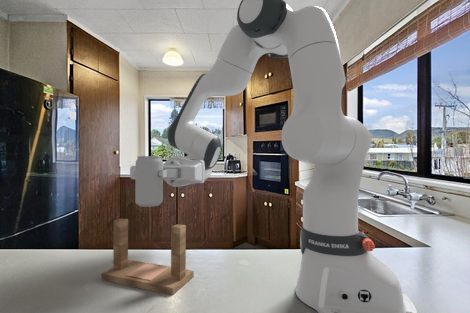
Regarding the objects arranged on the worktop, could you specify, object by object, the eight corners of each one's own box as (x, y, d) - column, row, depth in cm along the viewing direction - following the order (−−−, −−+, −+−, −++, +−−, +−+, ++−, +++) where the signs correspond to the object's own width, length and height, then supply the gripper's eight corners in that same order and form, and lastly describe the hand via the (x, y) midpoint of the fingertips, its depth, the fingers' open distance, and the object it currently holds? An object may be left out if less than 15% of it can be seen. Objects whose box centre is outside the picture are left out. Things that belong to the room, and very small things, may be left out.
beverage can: (154, 207, 58) (155, 155, 59) (129, 206, 60) (130, 155, 60) (167, 203, 65) (167, 156, 65) (144, 202, 66) (144, 156, 66)
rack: (193, 276, 63) (193, 222, 63) (172, 295, 54) (173, 231, 54) (128, 265, 70) (129, 215, 70) (101, 279, 61) (101, 223, 61)
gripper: (149, 160, 78) (113, 161, 65) (209, 160, 71) (183, 160, 58) (149, 181, 78) (113, 185, 65) (209, 182, 71) (183, 188, 58)
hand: (147, 173), depth 62 cm, fingers closed on beverage can, 6 cm apart
